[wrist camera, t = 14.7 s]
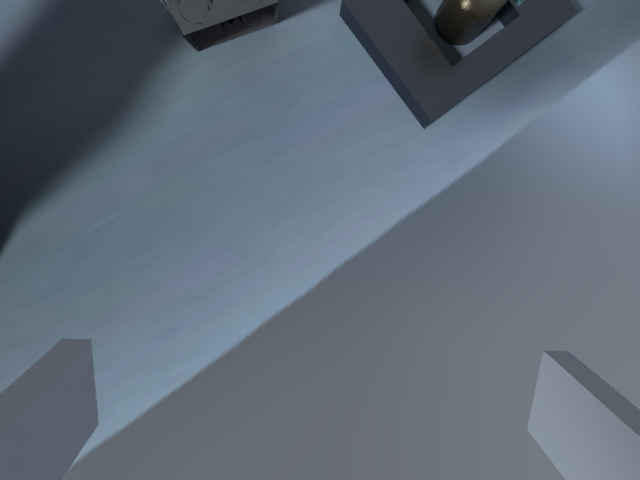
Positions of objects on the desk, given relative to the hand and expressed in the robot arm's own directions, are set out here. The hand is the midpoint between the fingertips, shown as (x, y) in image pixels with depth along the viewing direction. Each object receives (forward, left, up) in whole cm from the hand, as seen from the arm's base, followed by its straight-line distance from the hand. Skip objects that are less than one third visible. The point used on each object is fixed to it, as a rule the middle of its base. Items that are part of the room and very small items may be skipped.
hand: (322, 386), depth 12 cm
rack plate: (+9, +26, -26) cm, 38 cm away
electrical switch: (-10, +22, -27) cm, 36 cm away
